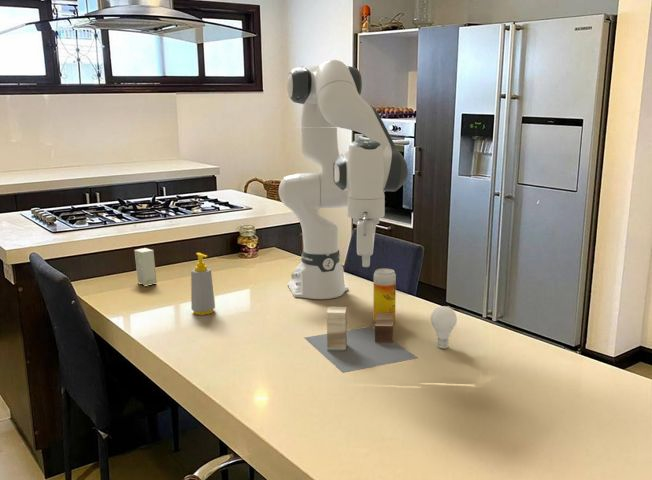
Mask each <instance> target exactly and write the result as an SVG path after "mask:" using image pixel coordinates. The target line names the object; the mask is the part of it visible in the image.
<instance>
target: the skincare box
mask: <svg viewBox="0 0 652 480" xmlns="http://www.w3.org/2000/svg"><path fill="white" fill-rule="evenodd" d="M154 252H155V251H154V249H150V248H147V247H144V248H143V247H142V248H138V249H134V258H135V259H134V260H135V266H136V267H135V269H136V278H137V283H138V282H140V283H142V284H144V285H148V284H153V283H157V271H156V263H155V261H156V260H155V253H154ZM157 284H158V283H157Z"/></svg>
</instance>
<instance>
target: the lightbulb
mask: <svg viewBox="0 0 652 480" xmlns="http://www.w3.org/2000/svg"><path fill="white" fill-rule="evenodd" d="M457 321H458V319H457V314H456V312H455V311H454V310H453V309H452V308H451V307H449V306H446V305H443V306H437V307H436V308H434V309H433V311H432V313H431V314H430V323H431V326H432V327H433V329H434V330H435V333H436V337H437V347H438V348H439V349H442V350H445V349H448V348H449V338H450V337H451V333H452V330H454V329H455V327H456V325H457Z"/></svg>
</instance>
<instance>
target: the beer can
mask: <svg viewBox="0 0 652 480" xmlns="http://www.w3.org/2000/svg"><path fill="white" fill-rule="evenodd" d="M396 277H397V274H396V272H395V270H394V269H391V268H378V269H375V270H374V273H373V303H372V304H373V307H372V308H373V313H372V314H373V315H372V316H373V317H372V319H373V322H375V321H376V313H393V323H395V321H396V299H397V298H396V295H397V294H396V293H397V292H396V291H397V287H396V286H397V285H396V283H397V281H396V280H397V278H396Z"/></svg>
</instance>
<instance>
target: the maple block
mask: <svg viewBox="0 0 652 480" xmlns="http://www.w3.org/2000/svg"><path fill="white" fill-rule="evenodd" d="M347 310H348V307H347V306H328V308H327V311H326V334H327V351H345V352H346V347H347V330H348V329H347V328H348V327H347V325H348V322H347V321H348V320H347V319H348V311H347Z"/></svg>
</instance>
